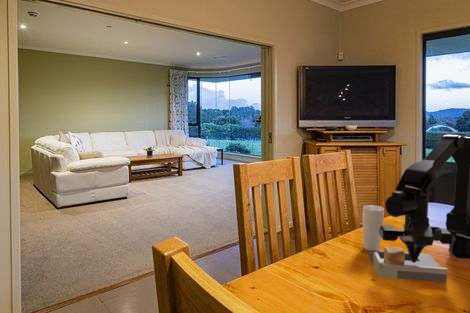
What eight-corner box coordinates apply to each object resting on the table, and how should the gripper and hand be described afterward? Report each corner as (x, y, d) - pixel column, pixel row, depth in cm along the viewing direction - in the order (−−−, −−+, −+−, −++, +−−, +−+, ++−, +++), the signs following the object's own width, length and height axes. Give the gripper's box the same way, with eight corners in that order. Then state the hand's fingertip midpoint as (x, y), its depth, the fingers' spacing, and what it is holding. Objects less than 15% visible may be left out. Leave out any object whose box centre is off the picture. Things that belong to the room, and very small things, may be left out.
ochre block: (399, 261, 103) (400, 247, 102) (404, 268, 98) (404, 253, 98) (383, 260, 103) (384, 246, 103) (387, 267, 99) (388, 252, 98)
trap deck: (428, 261, 108) (428, 247, 108) (446, 282, 95) (447, 267, 94) (369, 256, 112) (369, 244, 111) (378, 277, 98) (379, 262, 98)
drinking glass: (359, 250, 117) (361, 208, 115) (362, 243, 123) (364, 204, 121) (381, 254, 114) (383, 211, 112) (382, 247, 120) (384, 206, 118)
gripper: (389, 218, 92) (386, 272, 94) (465, 221, 88) (460, 277, 90) (379, 206, 102) (377, 255, 104) (447, 209, 99) (443, 259, 101)
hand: (413, 262), depth 100 cm, fingers closed
